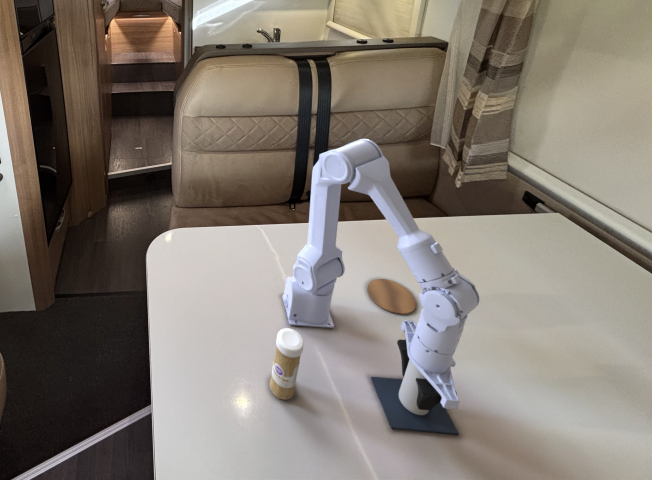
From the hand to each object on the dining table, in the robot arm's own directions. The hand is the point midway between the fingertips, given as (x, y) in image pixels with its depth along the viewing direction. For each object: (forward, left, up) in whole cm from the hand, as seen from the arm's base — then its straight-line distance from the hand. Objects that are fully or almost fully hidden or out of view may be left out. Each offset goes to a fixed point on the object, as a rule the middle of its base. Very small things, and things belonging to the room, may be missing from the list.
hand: (416, 392), depth 76 cm
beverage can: (0, 0, -3) cm, 3 cm away
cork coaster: (+7, +25, -3) cm, 26 cm away
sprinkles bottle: (-23, +1, -4) cm, 23 cm away
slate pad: (0, 0, -3) cm, 3 cm away
